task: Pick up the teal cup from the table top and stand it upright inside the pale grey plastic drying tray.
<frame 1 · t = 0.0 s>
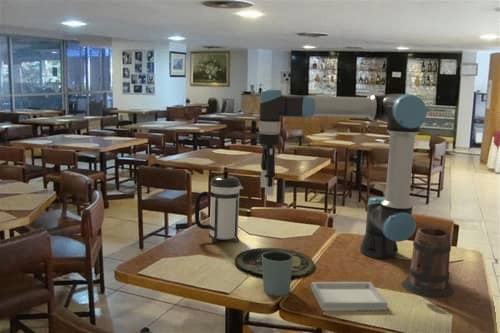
hand: (266, 191, 181), 28 cm above the table, tool pointing down, fingers open, 13 cm apart
teal cup: (275, 291, 163), on the table
coffee press: (220, 239, 213), on the table
decorative plate: (274, 265, 187), on the table
drying tray: (347, 299, 158), on the table
tankard: (426, 291, 167), on the table
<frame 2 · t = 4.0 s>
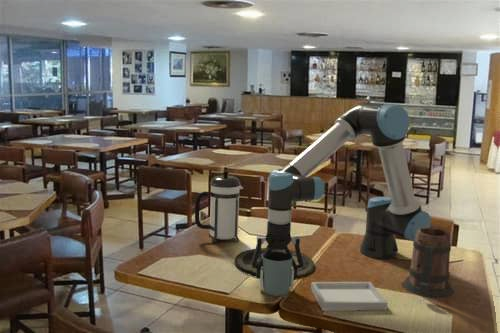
hand: (276, 287, 163), 1 cm above the table, tool pointing down, fingers closed on teal cup, 9 cm apart
teal cup: (275, 291, 163), on the table, touching gripper
everything else where it was.
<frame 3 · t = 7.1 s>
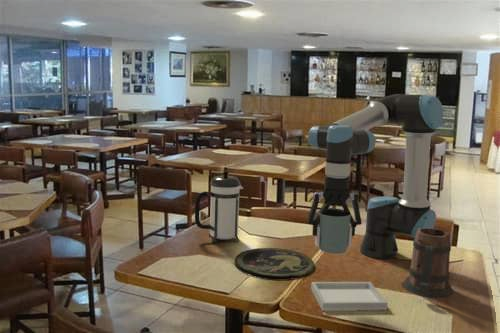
hand: (332, 245, 157), 17 cm above the table, tool pointing down, fingers closed on teal cup, 9 cm apart
teal cup: (332, 249, 157), point 16 cm above the table, touching gripper
everything else where it was.
when the fingers open (3 cm above the table, at t = 10.2 s): teal cup drops 1 cm, resting on drying tray.
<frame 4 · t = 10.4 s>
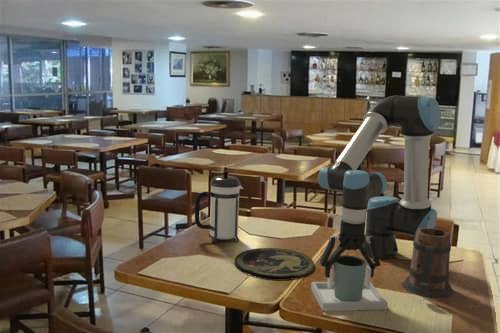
hand: (348, 286, 158), 4 cm above the table, tool pointing down, fingers open, 11 cm apart
teal cup: (347, 296, 158), point 1 cm above the table, touching drying tray
everything else where it was.
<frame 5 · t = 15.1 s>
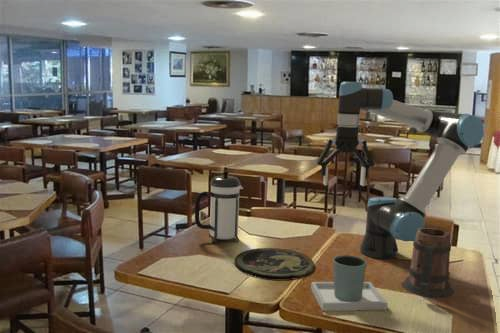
hand: (343, 185, 179), 32 cm above the table, tool pointing down, fingers open, 13 cm apart
nothing on the table moved.
at the end: teal cup inside the target area on the drying tray (0.1 cm from its centre), point 0.8 cm above the drying tray's base; teal cup tilted 0°; the gripper is holding nothing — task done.
